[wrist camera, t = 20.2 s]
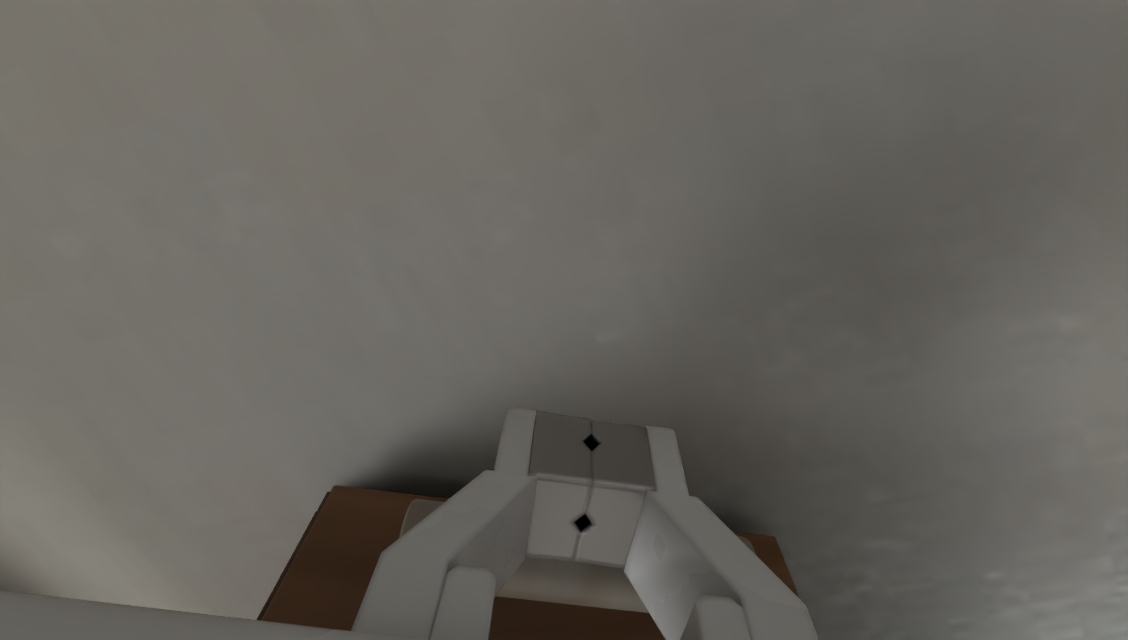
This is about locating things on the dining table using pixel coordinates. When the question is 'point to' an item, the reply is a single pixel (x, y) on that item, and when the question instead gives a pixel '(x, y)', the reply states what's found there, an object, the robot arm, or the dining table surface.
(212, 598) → the dining table surface
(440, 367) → the dining table surface
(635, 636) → the drawer
